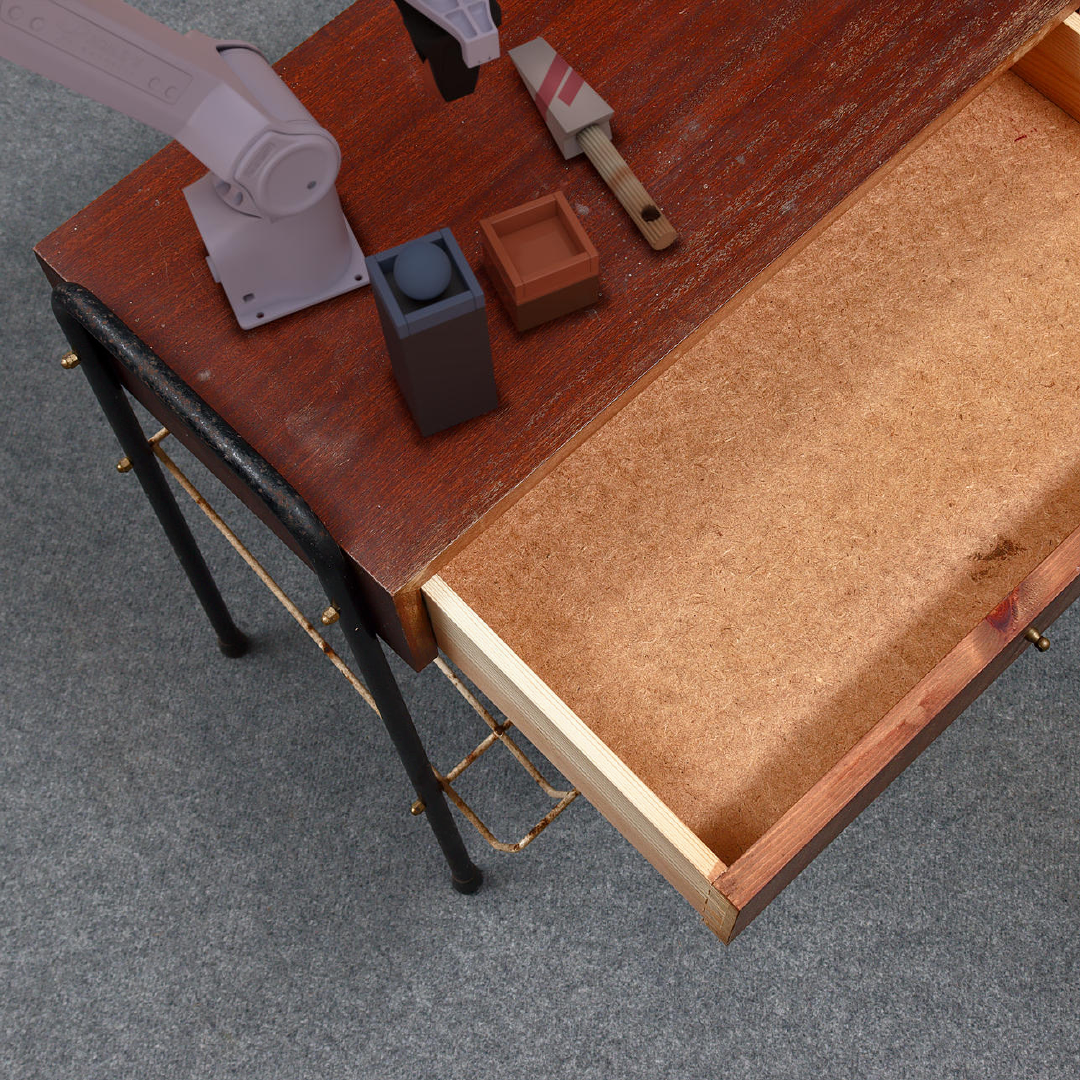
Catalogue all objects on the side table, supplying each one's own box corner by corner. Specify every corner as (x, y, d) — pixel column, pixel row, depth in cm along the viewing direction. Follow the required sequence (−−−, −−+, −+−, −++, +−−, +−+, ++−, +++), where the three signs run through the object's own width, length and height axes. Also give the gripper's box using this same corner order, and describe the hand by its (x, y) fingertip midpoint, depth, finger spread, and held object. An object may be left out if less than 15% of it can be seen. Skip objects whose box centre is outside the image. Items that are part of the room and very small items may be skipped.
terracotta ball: (437, 116, 82) (431, 79, 79) (418, 83, 83) (412, 45, 80) (482, 99, 82) (478, 61, 80) (462, 66, 84) (458, 28, 81)
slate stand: (423, 438, 80) (397, 327, 69) (393, 375, 82) (363, 258, 71) (498, 408, 81) (484, 293, 70) (467, 346, 83) (448, 225, 72)
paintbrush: (547, 18, 91) (690, 218, 84) (547, 46, 94) (686, 243, 87) (500, 37, 91) (640, 240, 84) (501, 66, 93) (637, 265, 86)
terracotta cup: (519, 333, 84) (515, 287, 79) (484, 268, 86) (478, 220, 81) (598, 301, 84) (599, 254, 80) (562, 238, 87) (560, 189, 82)
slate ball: (410, 319, 71) (402, 285, 68) (389, 277, 72) (381, 241, 69) (462, 299, 71) (457, 264, 69) (441, 258, 73) (435, 221, 70)
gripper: (544, -54, 67) (551, 131, 79) (437, -212, 73) (459, -17, 85) (422, -10, 66) (448, 170, 78) (323, -174, 72) (362, 18, 84)
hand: (447, 75), depth 82 cm, fingers closed on terracotta ball, 3 cm apart
